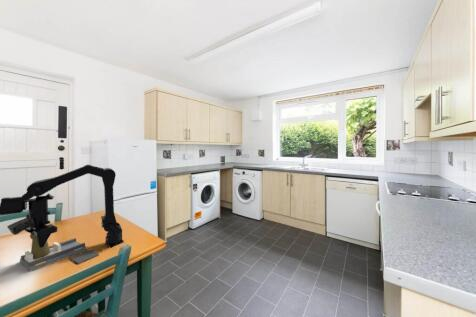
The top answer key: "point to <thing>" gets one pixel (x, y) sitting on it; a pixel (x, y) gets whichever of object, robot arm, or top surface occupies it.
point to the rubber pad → (84, 256)
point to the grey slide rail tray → (55, 254)
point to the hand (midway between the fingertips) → (39, 245)
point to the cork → (38, 248)
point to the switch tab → (53, 250)
